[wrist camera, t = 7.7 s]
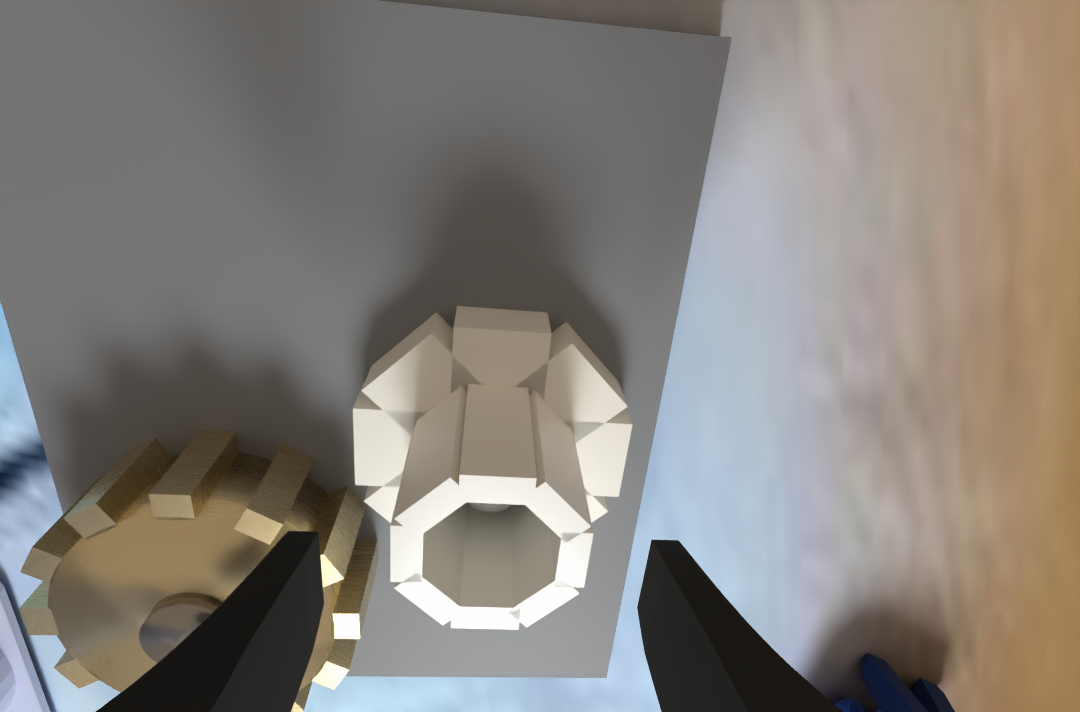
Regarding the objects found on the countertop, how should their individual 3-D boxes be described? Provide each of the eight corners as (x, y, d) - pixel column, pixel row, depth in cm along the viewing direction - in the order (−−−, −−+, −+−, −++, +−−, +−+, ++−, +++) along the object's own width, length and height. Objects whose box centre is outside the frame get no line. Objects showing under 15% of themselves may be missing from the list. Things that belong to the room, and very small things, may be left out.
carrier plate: (123, 655, 23) (111, 674, 22) (-72, -45, 14) (-104, -52, 13) (603, 659, 25) (606, 678, 24) (720, 38, 15) (731, 37, 15)
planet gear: (366, 521, 20) (322, 672, 15) (362, 299, 17) (305, 398, 12) (599, 530, 21) (630, 677, 16) (637, 319, 18) (691, 420, 13)
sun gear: (117, 644, 22) (49, 748, 18) (55, 423, 18) (-44, 504, 15) (380, 647, 22) (360, 747, 19) (374, 436, 19) (348, 516, 15)
